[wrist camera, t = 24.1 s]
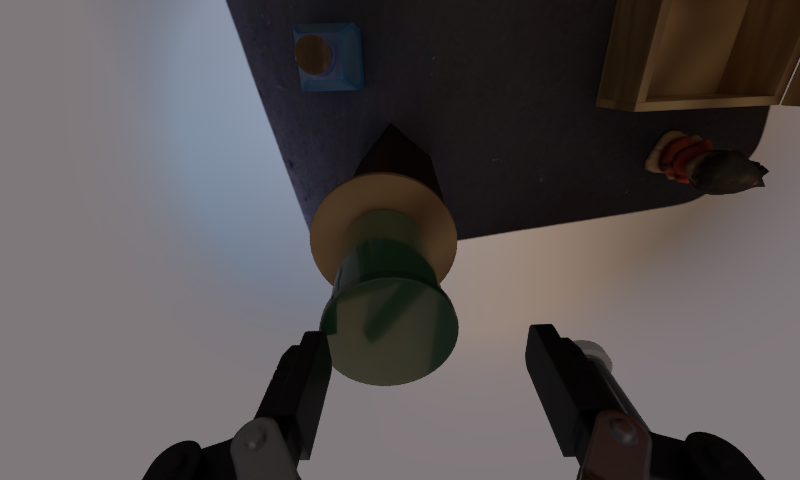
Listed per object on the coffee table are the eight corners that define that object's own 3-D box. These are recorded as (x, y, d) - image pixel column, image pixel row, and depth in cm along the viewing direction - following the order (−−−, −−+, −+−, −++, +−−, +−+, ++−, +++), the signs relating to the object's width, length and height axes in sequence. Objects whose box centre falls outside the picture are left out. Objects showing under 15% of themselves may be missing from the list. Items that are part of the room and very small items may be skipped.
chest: (595, 106, 41) (634, 111, 34) (618, -8, 36) (670, -29, 29) (714, 99, 41) (779, 104, 34) (756, -17, 36) (843, -41, 28)
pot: (447, 240, 22) (487, 324, 14) (390, 300, 24) (400, 403, 16) (374, 186, 20) (376, 250, 12) (319, 256, 22) (290, 350, 14)
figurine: (692, 123, 42) (789, 138, 31) (690, 163, 44) (780, 191, 34) (640, 139, 43) (718, 160, 32) (641, 178, 45) (714, 209, 35)
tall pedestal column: (445, 155, 44) (488, 237, 22) (399, 208, 48) (394, 326, 25) (388, 105, 42) (368, 139, 19) (344, 165, 45) (282, 255, 22)
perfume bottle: (364, 88, 41) (350, 92, 30) (316, 89, 41) (284, 94, 30) (360, 30, 38) (342, 11, 27) (308, 32, 38) (270, 14, 27)
